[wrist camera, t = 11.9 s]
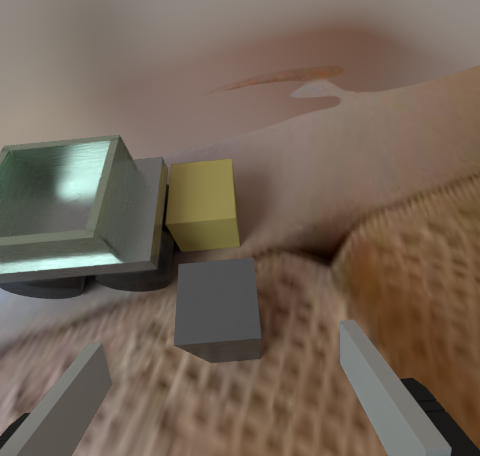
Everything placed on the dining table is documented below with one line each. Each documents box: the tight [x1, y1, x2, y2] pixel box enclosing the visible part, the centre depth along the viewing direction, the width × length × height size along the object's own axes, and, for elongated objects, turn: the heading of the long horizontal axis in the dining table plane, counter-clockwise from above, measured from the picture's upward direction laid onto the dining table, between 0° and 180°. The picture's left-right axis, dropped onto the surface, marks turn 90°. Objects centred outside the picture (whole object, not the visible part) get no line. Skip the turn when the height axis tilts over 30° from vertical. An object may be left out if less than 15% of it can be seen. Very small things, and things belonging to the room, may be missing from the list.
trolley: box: [0, 135, 174, 299], centre depth 23 cm, size 14×10×11 cm
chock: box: [166, 159, 240, 252], centre depth 26 cm, size 6×7×6 cm
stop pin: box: [174, 258, 262, 363], centre depth 18 cm, size 4×4×11 cm
